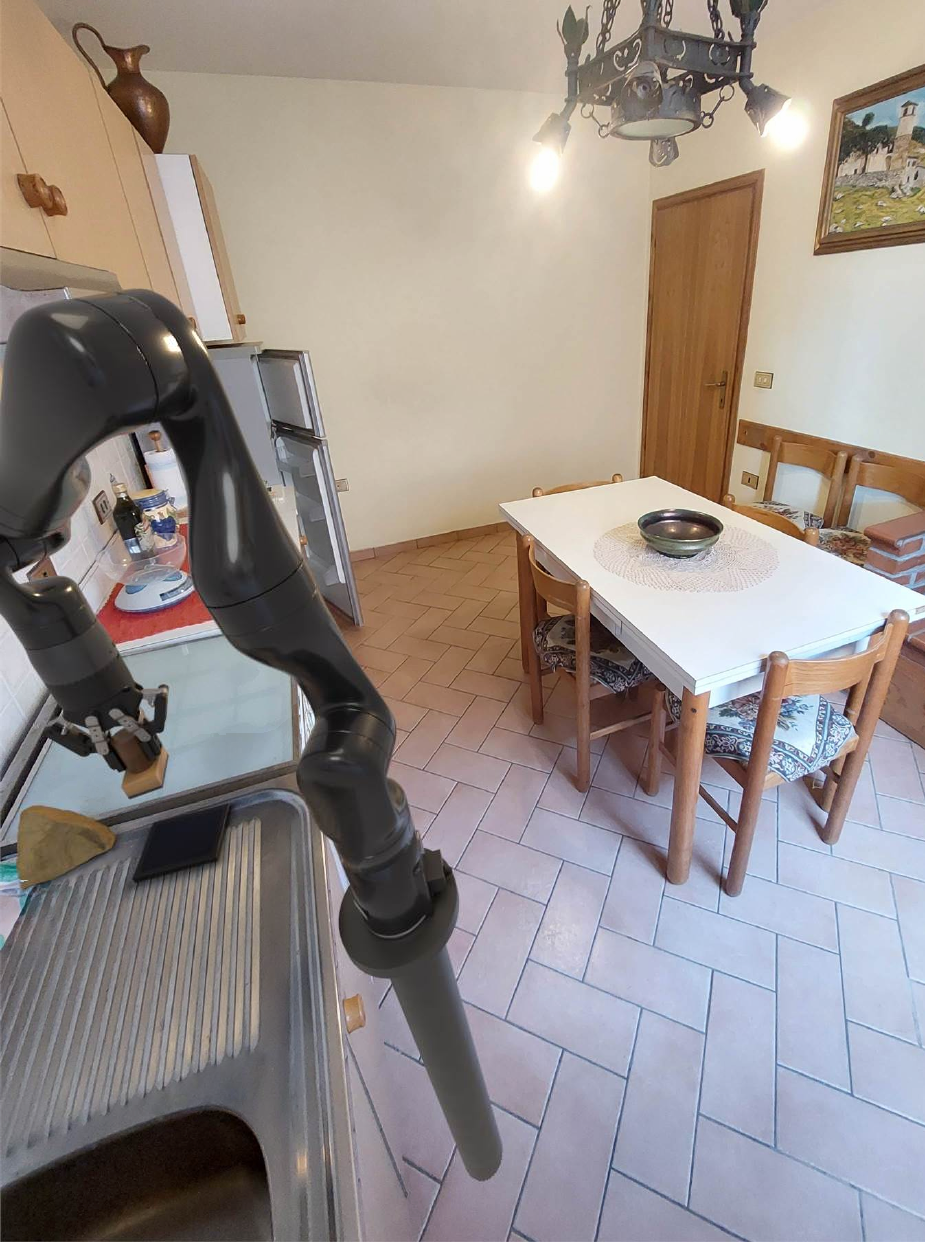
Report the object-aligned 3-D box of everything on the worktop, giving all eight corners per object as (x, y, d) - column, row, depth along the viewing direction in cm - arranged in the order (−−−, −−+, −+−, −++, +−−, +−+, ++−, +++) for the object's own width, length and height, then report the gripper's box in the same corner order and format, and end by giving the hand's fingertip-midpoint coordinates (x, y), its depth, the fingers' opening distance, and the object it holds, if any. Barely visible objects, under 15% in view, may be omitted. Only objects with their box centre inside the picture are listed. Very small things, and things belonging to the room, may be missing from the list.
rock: (130, 810, 84) (68, 803, 84) (89, 812, 76) (21, 804, 77) (102, 892, 80) (37, 884, 80) (56, 903, 72) (-16, 894, 72)
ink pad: (231, 807, 86) (229, 803, 85) (218, 861, 78) (215, 857, 77) (156, 826, 84) (153, 822, 83) (134, 883, 76) (131, 879, 76)
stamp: (163, 788, 73) (137, 745, 69) (129, 799, 71) (101, 757, 68) (169, 754, 78) (145, 713, 74) (137, 764, 77) (112, 723, 73)
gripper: (-5, 701, 59) (71, 805, 68) (140, 660, 64) (195, 762, 72) (19, 661, 66) (86, 761, 74) (150, 626, 70) (200, 724, 78)
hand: (140, 761), depth 73 cm, fingers closed on stamp, 3 cm apart
